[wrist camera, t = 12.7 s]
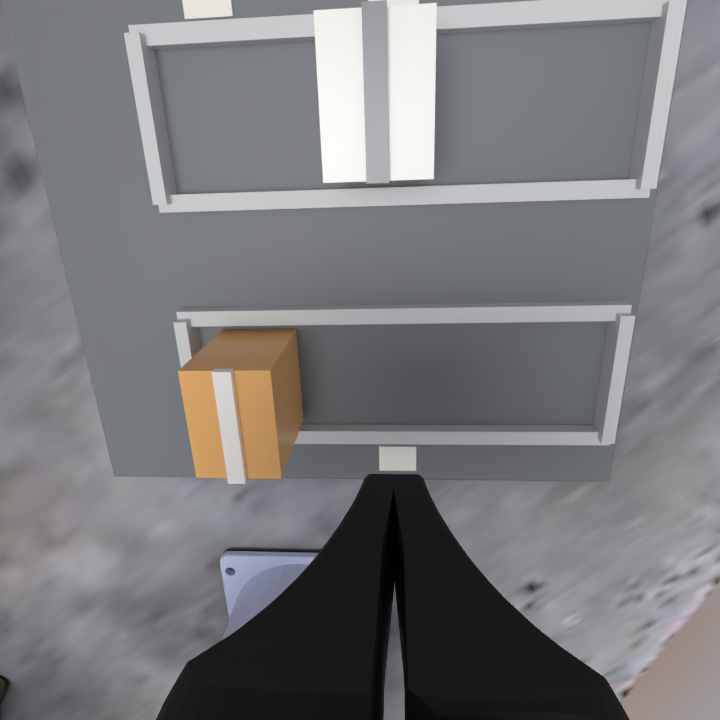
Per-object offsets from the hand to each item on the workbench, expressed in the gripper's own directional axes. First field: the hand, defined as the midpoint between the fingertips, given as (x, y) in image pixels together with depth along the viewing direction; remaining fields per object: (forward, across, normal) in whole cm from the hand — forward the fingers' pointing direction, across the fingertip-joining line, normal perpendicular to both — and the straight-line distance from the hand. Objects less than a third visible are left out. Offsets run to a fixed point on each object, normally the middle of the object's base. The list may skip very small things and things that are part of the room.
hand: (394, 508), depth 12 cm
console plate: (+10, +2, -4) cm, 11 cm away
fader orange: (+9, +5, 0) cm, 10 cm away
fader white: (+9, 0, -10) cm, 13 cm away
